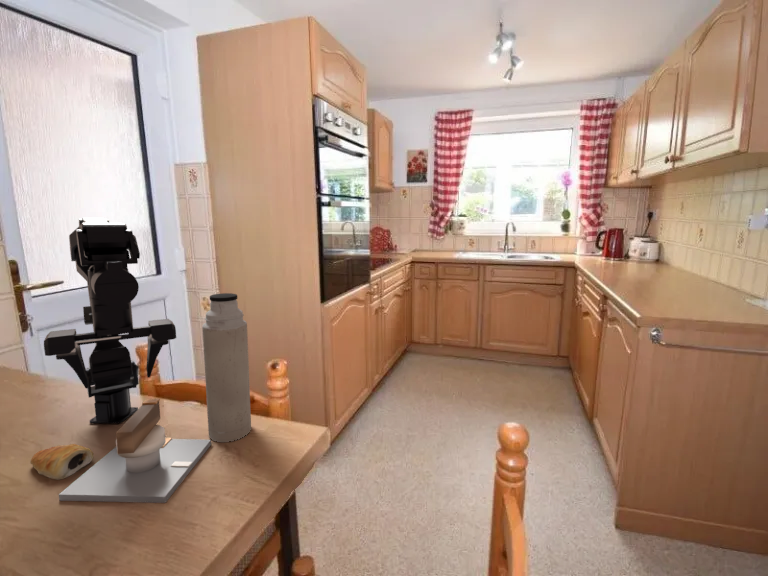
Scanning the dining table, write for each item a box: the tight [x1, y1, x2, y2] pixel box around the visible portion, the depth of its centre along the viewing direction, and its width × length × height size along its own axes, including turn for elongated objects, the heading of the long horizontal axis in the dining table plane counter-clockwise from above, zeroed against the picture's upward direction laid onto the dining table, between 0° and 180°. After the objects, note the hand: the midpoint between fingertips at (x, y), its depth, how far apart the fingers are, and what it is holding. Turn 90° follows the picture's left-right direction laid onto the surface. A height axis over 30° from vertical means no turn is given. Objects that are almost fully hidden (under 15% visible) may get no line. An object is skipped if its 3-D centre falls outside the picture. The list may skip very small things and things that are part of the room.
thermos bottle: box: [201, 292, 252, 443], centre depth 79 cm, size 8×8×28 cm
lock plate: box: [58, 437, 212, 504], centre depth 68 cm, size 16×16×4 cm
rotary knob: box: [115, 398, 166, 458], centre depth 68 cm, size 7×11×6 cm, turn 9°
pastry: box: [30, 443, 94, 481], centre depth 69 cm, size 9×7×4 cm
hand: (119, 381), depth 72 cm, fingers open, 9 cm apart
